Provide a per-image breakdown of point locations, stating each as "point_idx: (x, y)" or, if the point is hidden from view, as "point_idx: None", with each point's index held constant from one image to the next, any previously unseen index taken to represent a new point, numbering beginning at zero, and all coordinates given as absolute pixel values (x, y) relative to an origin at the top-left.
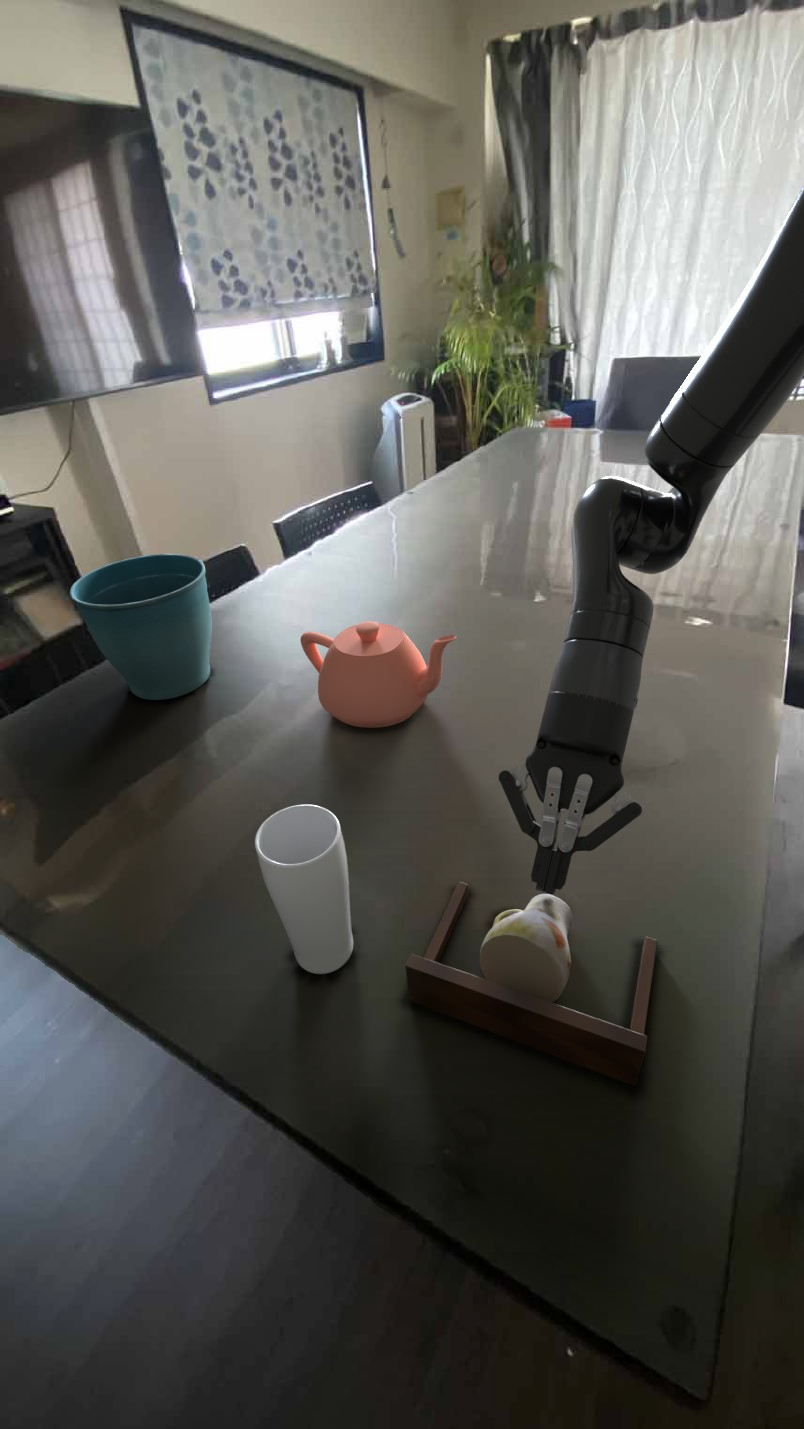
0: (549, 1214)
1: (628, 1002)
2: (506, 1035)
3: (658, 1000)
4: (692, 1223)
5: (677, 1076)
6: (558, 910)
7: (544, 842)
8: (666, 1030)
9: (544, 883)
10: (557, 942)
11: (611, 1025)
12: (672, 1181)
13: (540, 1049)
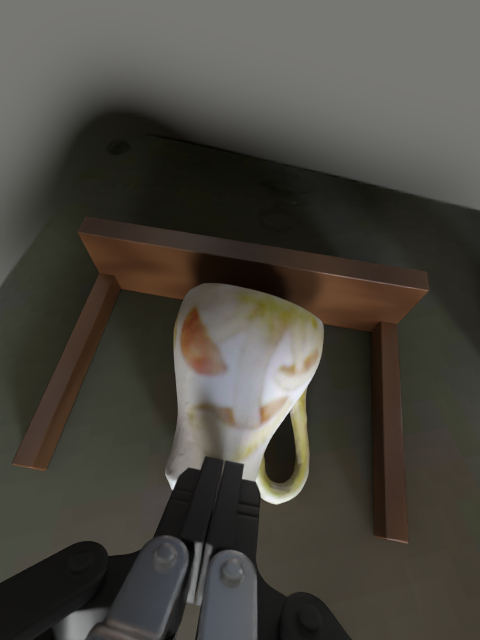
0: (204, 181)
1: (96, 366)
2: None
3: None
4: (89, 190)
5: (61, 289)
6: (192, 445)
7: (235, 563)
8: (55, 337)
9: (225, 468)
10: (195, 316)
11: (123, 238)
12: (97, 210)
13: None
